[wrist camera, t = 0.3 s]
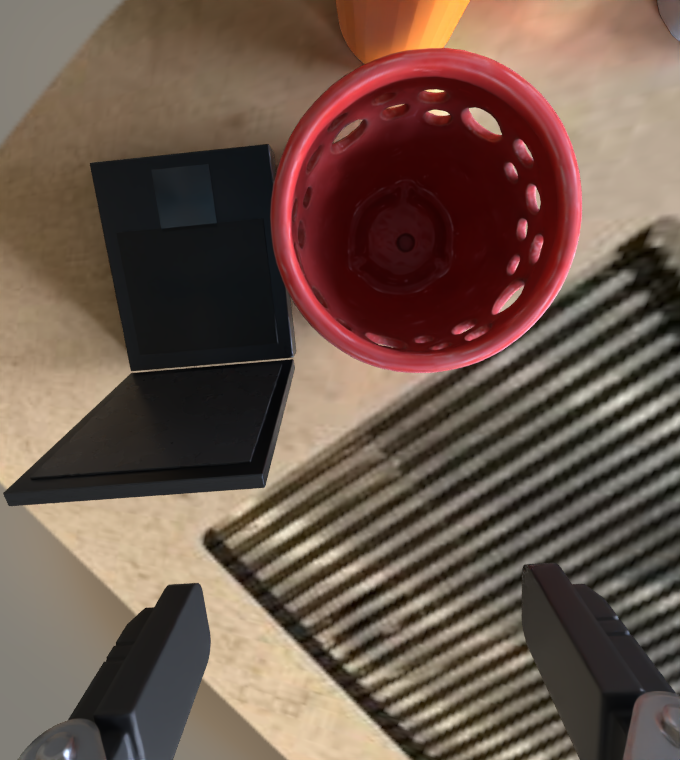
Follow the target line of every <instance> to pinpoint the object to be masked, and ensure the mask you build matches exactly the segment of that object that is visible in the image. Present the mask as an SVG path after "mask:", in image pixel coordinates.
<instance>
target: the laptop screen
mask: <svg viewBox="0 0 680 760" xmlns="http://www.w3.org/2000/svg"><path fill="white" fill-rule="evenodd" d="M294 370H295V366H294V360H293V359H292V360H281V361H269V362H257V363H245V364H234V365H222V366H210V367H198V368H186V369H175V370H163V371H151V372H139V373H131V374H130V375H129V376H128V377H127V378H126V379H124V380H123V381H122V382H121V383H120V384H119V385H118V386H117V387H116V388H115V389H114V390H113V391H112V392H111V393H110V394H108V395H107V396H106V397H105V398H104V399H103V400H102V401H101V402H100V403H99V404H98V405H97V406H96V407H95V408H94V409H93V410H91V411H90V412H89V413H88V414H87V415H86V416H85V417H84V418H83V419H82V420H81V421H80V422H79V423H78V424H77V425H75V426H74V427H73V428H72V429H71V430H70V431H69V432H68V433H67V434H66V435H65V436H64V437H63V438H62V439H61V440H59V441H58V442H57V443H56V444H55V445H54V446H53V447H52V448H51V449H50V450H49V451H48V452H47V453H46V454H45V455H43V456H42V457H41V458H40V459H39V460H38V461H37V462H36V463H35V464H34V465H33V466H32V467H31V468H30V469H29V470H27V471H26V472H25V473H24V474H23V475H22V476H21V477H20V478H19V479H18V480H17V481H16V482H15V483H14V484H13V485H11V486H10V487H9V488H8V489H7V490H6V491H5V492H4V493H3V494H4V497H5V499H6V501H7V503H8V505H9V506H19V505H33V504H47V503H60V502H74V501H88V500H102V499H115V498H129V497H143V496H156V495H170V494H184V493H198V492H211V491H225V490H239V489H253V488H264V487H265V485H266V481H267V477H268V473H269V469H270V465H271V461H272V457H273V453H274V449H275V445H276V441H277V437H278V433H279V429H280V425H281V421H282V418H283V414H284V410H285V406H286V402H287V398H288V394H289V390H290V386H291V382H292V378H293V374H294Z"/></svg>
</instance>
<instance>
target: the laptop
mask: <svg viewBox="0 0 680 760" xmlns="http://www.w3.org/2000/svg"><path fill="white" fill-rule="evenodd" d="M90 168H91V173H92V178H93V183H94V188H95V193H96V198H97V203H98V208H99V213H100V218H101V223H102V228H103V233H104V238H105V243H106V248H107V253H108V258H109V263H110V268H111V273H112V278H113V283H114V288H115V293H116V298H117V303H118V308H119V313H120V318H121V323H122V328H123V333H124V338H125V343H126V348H127V353H128V358H129V363H130V368H131V371H140V370H152V369H164V368H175V367H187V366H199V365H211V364H223V363H234V362H246V361H258V360H270V359H281V358H293V357H294V355H295V354H296V345H295V336H294V327H293V318H292V310H291V301H290V295H289V293H288V291H287V289H286V287H285V285H284V282H283V280H282V277H281V274H280V272H279V269H278V266H277V263H276V259H275V255H274V251H273V243H272V236H271V220H270V213H271V198H272V191H273V184H274V180H275V177H276V169H275V160H274V152H273V150H272V149H271V147H270V146H269V144H264V145H255V146H245V147H236V148H226V149H217V150H207V151H198V152H188V153H179V154H169V155H160V156H150V157H141V158H131V159H122V160H112V161H103V162H93V163H90Z"/></svg>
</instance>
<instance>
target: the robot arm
mask: <svg viewBox="0 0 680 760" xmlns="http://www.w3.org/2000/svg"><path fill="white" fill-rule="evenodd" d="M522 626H523V631H524V636H525V639H526V643H527V645H528V648H529V650H530V652H531V654H532V657H533V659H534V661H535V663H536V665H537V667H538V670H539V672H540V674H541V676H542V678H543V681H544V683H545V685H546V687H547V689H548V691H549V694H550V696H551V698H552V700H553V702H554V704H555V707H556V709H557V711H558V713H559V715H560V717H561V720H562V722H563V724H564V726H565V728H566V730H567V733H568V735H569V737H570V739H571V741H572V743H573V746H574V748H575V750H576V752H577V754H578V757H579V759H580V760H680V695H678V694H676V693H675V691H674V690H673V689H672V688H671V686H670V685H669V684H668V682H667V681H666V680H665V678H664V677H663V676H662V674H661V673H660V672H659V670H658V669H657V668H656V666H655V665H654V664H653V662H652V661H651V660H650V658H649V657H648V656H647V654H646V653H645V652H644V650H643V649H642V648H641V646H640V645H639V644H638V642H637V641H636V640H635V638H634V637H633V636H632V635H630V633H629V630H628V629H627V628H626V627H625V625H624V624H623V623H622V621H621V620H619V619H618V616H617V615H616V613H615V612H614V611H613V609H612V608H611V607H610V605H609V604H608V603H607V601H606V600H605V599H604V598H603V597H602V596H600V595H599V594H597V593H596V592H595V591H593V590H592V589H590V588H589V587H588V586H586V585H585V584H572V583H571V582H570V581H569V579H568V578H567V576H566V575H565V573H564V572H563V570H562V569H561V567H560V566H559V565H558V564H557V563H543V564H526V565H524V566H523V569H522ZM210 643H211V639H210V630H209V625H208V619H207V613H206V608H205V602H204V597H203V591H202V588H201V585H200V584H199V583H190V584H173V585H168V586H167V587H166V588H165V590H164V591H163V593H162V595H161V597H160V598H159V600H158V602H157V604H156V605H155V607H153V608H145V609H144V610H142V611H141V612H140V613H139V614H138V615H137V616H136V617H135V618H134V619H133V620H131V621H130V622H129V623H128V624H127V626H126V627H125V629H124V630H123V632H122V634H121V635H120V637H119V638H118V640H117V642H116V646H114V647H113V648H112V650H111V652H110V653H109V655H108V656H107V660H106V662H104V663H103V664H102V666H101V668H100V669H99V671H98V672H97V674H96V676H95V677H94V679H93V680H92V682H91V684H90V686H89V687H88V689H87V690H86V692H85V693H84V695H83V697H82V698H81V700H80V702H79V703H78V705H77V706H76V708H75V710H74V711H73V713H72V714H71V716H70V718H69V719H68V721H65V722H62V723H60V724H57V725H55V726H53V727H52V728H50V729H48V730H47V731H45V732H44V733H42V734H41V735H40V736H38V737H37V738H36V739H35V740H34V741H33V742H32V743H31V744H30V745H29V746H28V747H27V748H26V749H25V750H24V752H23V753H22V754H21V755H20V757H19V759H18V760H173V758H174V755H175V752H176V749H177V747H178V744H179V741H180V738H181V735H182V733H183V730H184V727H185V724H186V722H187V719H188V715H189V713H190V710H191V708H192V704H193V702H194V699H195V696H196V693H197V691H198V688H199V685H200V682H201V680H202V677H203V674H204V671H205V669H206V666H207V663H208V659H209V654H210Z"/></svg>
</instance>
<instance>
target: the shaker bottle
mask: <svg viewBox="0 0 680 760" xmlns="http://www.w3.org/2000/svg"><path fill="white" fill-rule="evenodd" d="M469 1H470V0H336V6H337V13H338V20H339V25H340V28H341V31H342V35H343V37H344V39H345V41H346V43H347V45H348V47H349V48H350V49H351V51H352V52H353V53H354V54H355V56H356V57H357V58H358V59H360V60H361V61H362V62H363V63H364V64H367V63H369V62H371V61H373V60H375V59H378V58H381V57H384V56H387V55H389V54H392V53H397V52H401V51H406V50H413V49H425V48H443V47H444V46H445V44H446V43H447V41H448V40H449V38H450V36H451V34H452V32H453V30H454V29H455V27H456V25H457V23H458V21H459V19H460V18H461V16H462V14H463V12H464V10H465V8H466V7H467V5H468V3H469Z"/></svg>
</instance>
